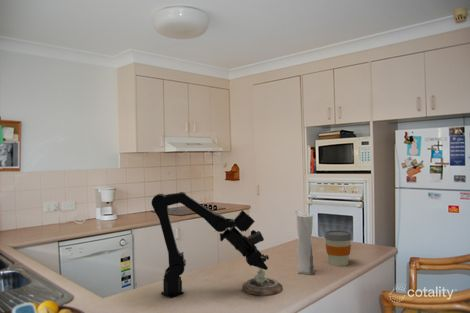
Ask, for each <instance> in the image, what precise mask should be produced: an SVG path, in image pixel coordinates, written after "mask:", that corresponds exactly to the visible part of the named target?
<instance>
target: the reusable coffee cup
mask: <svg viewBox="0 0 470 313" xmlns="http://www.w3.org/2000/svg"><path fill="white" fill-rule="evenodd" d="M324 239H325V249H326V254H327V258H328V264H329V265H331V266H335V267H336V266H337V267H344V266H348V265H349V260H350V259H349V258H350V255H351V247H352V244H351V240H352V234H351V231H347V230H346V231H345V230H327V231H325V232H324Z"/></svg>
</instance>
